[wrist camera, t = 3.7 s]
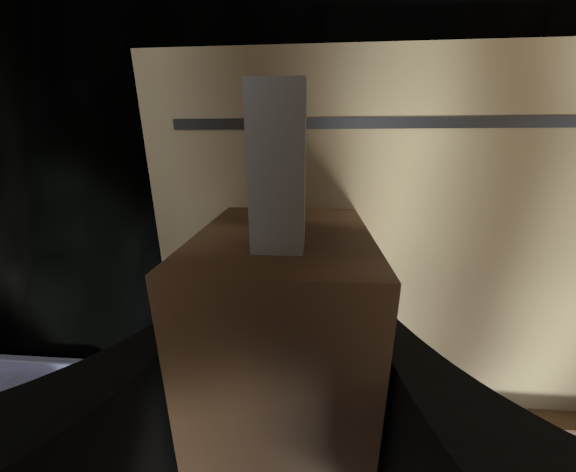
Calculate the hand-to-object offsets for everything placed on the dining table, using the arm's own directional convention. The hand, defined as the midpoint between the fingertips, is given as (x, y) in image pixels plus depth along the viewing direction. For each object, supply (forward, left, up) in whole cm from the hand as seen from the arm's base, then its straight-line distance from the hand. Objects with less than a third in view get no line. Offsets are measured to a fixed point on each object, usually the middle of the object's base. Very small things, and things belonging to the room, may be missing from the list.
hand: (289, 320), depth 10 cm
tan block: (0, +2, -1) cm, 2 cm away
